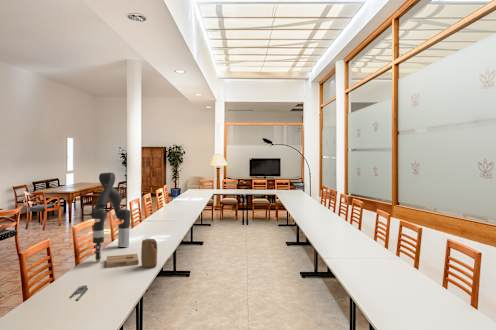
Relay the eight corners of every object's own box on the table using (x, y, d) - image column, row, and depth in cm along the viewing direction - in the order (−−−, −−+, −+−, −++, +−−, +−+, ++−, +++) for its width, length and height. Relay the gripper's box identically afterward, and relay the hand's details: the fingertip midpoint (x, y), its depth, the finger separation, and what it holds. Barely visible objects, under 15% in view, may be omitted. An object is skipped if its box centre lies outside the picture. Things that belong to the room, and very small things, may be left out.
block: (140, 267, 230) (140, 240, 229) (144, 264, 237) (144, 237, 237) (154, 268, 229) (155, 240, 229) (158, 265, 237) (158, 238, 236)
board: (106, 260, 245) (106, 256, 245) (136, 257, 253) (137, 253, 253) (106, 267, 228) (106, 263, 228) (138, 264, 237) (138, 260, 237)
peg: (95, 261, 241) (95, 248, 240) (100, 261, 242) (101, 248, 242) (95, 263, 237) (95, 249, 237) (100, 262, 239) (101, 249, 238)
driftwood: (80, 287, 195) (80, 283, 195) (92, 286, 196) (92, 283, 196) (65, 302, 175) (65, 298, 175) (78, 302, 175) (78, 298, 175)
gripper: (93, 234, 244) (93, 255, 245) (92, 238, 231) (92, 260, 232) (104, 233, 247) (103, 254, 248) (103, 237, 234) (103, 259, 234)
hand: (98, 257), depth 240 cm, fingers open, 8 cm apart
